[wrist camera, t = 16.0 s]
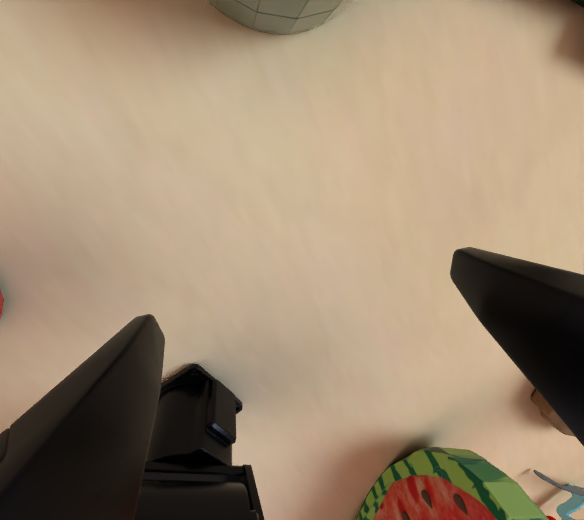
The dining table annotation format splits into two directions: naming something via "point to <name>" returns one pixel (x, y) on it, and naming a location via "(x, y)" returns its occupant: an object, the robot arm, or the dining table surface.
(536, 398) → the plant
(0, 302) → the beer can
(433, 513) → the fruit slice
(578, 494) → the novelty glasses
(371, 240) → the dining table surface
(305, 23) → the pot
